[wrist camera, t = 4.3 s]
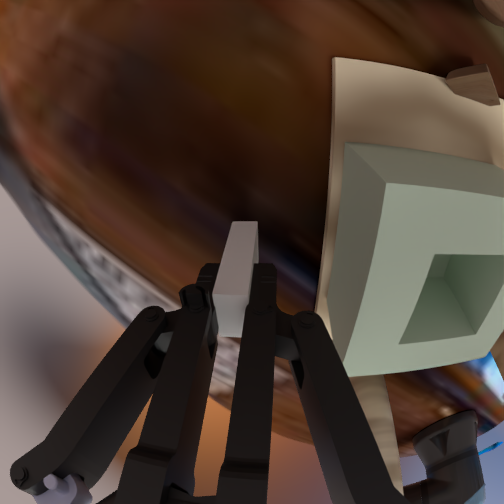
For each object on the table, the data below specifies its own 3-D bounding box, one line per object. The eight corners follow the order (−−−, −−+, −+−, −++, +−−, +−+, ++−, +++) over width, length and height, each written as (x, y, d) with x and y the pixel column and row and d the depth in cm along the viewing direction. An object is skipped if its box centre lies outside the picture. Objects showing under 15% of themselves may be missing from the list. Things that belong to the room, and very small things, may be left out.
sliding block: (453, 296, 21) (484, 356, 15) (326, 300, 22) (337, 377, 16) (495, 165, 14) (558, 209, 8) (344, 141, 15) (386, 182, 9)
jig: (486, 318, 24) (520, 388, 15) (311, 331, 26) (317, 432, 17) (550, 124, 12) (629, 169, 3) (332, 58, 13) (399, 35, 5)
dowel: (373, 369, 29) (393, 502, 15) (339, 371, 29) (351, 510, 16) (383, 348, 27) (411, 495, 13) (347, 350, 27) (364, 505, 14)
